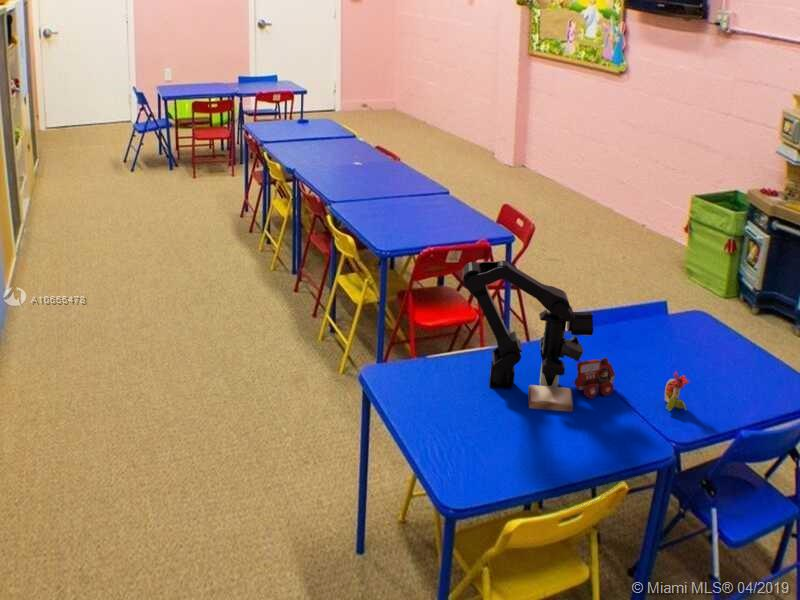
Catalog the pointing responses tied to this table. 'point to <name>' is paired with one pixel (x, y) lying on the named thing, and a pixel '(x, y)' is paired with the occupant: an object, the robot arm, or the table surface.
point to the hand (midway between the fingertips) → (549, 380)
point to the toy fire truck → (595, 377)
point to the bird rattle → (675, 392)
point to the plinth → (550, 398)
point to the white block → (543, 380)
